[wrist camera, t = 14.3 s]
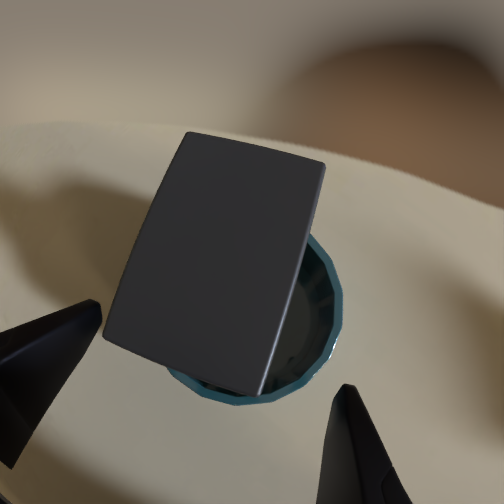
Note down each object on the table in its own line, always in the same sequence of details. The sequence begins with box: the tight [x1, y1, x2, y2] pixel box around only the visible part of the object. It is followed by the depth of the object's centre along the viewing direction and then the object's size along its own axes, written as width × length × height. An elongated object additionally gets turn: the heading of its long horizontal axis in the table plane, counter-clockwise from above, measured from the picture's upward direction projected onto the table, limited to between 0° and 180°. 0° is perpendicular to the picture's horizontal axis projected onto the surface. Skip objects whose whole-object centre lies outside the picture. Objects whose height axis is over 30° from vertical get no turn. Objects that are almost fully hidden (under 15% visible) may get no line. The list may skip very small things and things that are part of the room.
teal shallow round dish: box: [166, 233, 343, 406], centre depth 17 cm, size 10×10×4 cm
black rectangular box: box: [102, 132, 326, 398], centre depth 12 cm, size 5×3×14 cm
